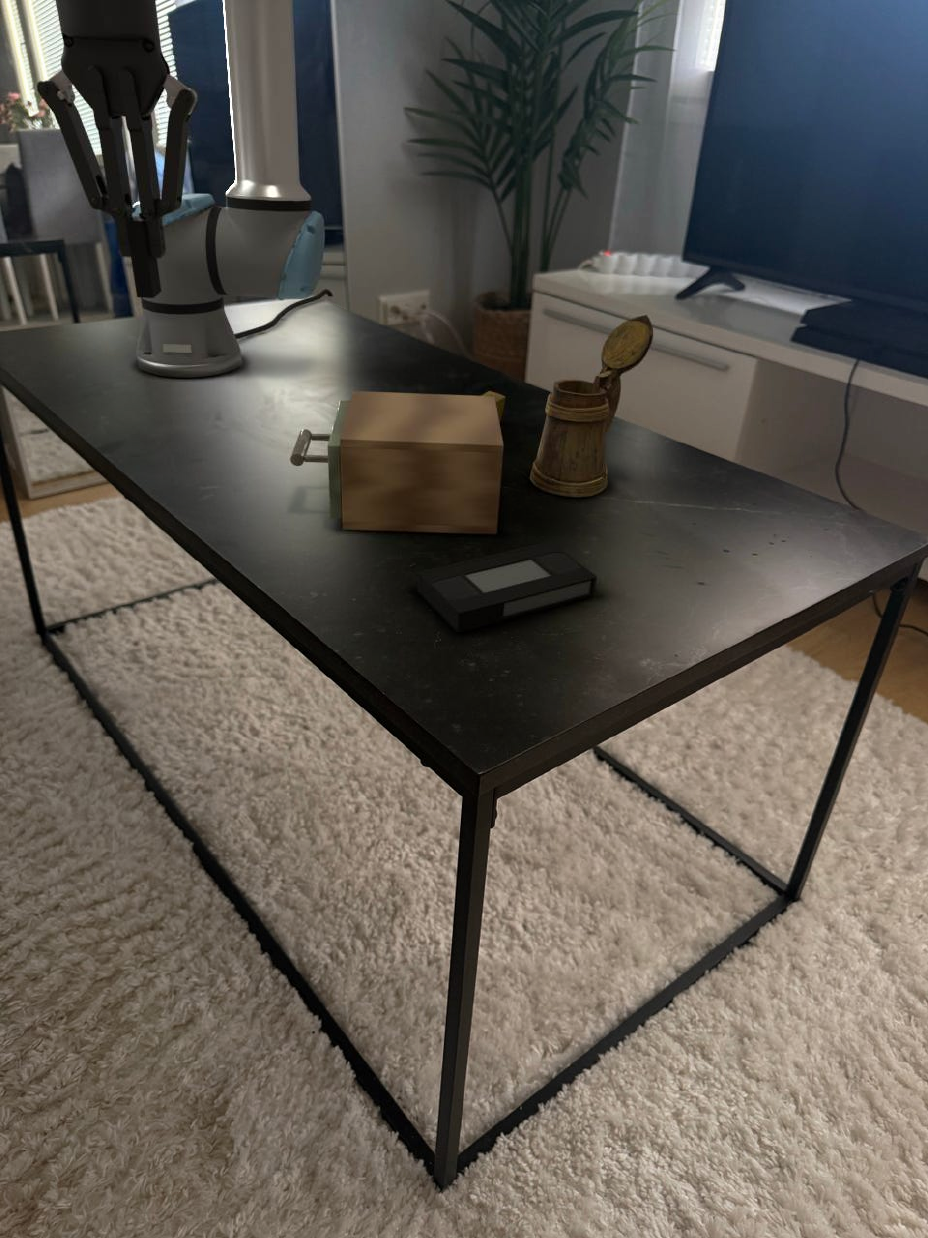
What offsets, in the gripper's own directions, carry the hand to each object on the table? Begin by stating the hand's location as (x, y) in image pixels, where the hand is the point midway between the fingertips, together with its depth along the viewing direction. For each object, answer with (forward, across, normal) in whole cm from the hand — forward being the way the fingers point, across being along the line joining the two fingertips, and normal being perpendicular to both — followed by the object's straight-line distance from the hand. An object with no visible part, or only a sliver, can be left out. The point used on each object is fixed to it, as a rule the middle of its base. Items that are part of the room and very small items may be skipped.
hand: (149, 294), depth 79 cm
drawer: (+20, +22, 0) cm, 29 cm away
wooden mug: (+21, +45, +8) cm, 50 cm away
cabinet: (+20, +26, 0) cm, 33 cm away
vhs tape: (+21, +34, -19) cm, 44 cm away
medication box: (+21, +32, +21) cm, 44 cm away
